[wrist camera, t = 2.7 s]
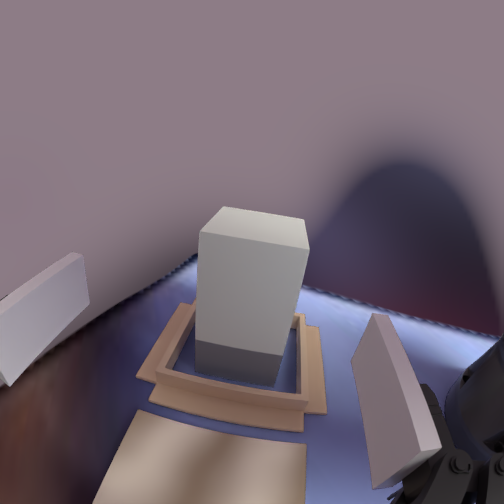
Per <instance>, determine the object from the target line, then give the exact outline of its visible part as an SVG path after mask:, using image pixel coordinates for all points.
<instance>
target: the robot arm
mask: <svg viewBox="0 0 504 504" xmlns="http://www.w3.org/2000/svg"><path fill="white" fill-rule="evenodd" d="M89 304H90V300H89V294H88V287H87V280H86V272H85V264H84V256H83V254H79V253H75V252H71V253H70V254H68V255H67V256H65V257H63V258H62V259H60V260H59V261H57V262H56V263H54V264H52V265H51V266H49V267H48V268H46V269H45V270H43V271H42V272H40V273H39V274H37V275H36V276H34V277H33V278H32V279H30V280H29V281H28V282H26V283H24V284H23V285H22V286H20V287H19V288H17V289H16V290H15V291H14V292H12V293H11V294H9V295H6V296H5V297H4V298H3V299H1V300H0V379H1V380H2V381H3V382H5V383H6V384H7V385H8V386H11V385H12V384H13V383H14V381H15V380H16V379H17V378H18V377H19V376H20V375H21V374H22V372H23V371H24V370H25V369H26V368H27V367H28V366H29V365H30V364H31V363H32V362H33V360H34V359H35V358H36V357H37V356H38V355H39V354H40V353H41V352H42V351H43V350H44V348H46V347H47V346H48V345H49V344H50V343H51V341H52V340H53V339H54V338H55V337H56V336H57V335H58V334H59V333H60V332H61V331H62V330H63V329H64V328H65V327H66V326H67V325H68V324H69V323H70V322H71V321H72V320H74V319H75V318H76V317H77V316H78V315H79V313H81V312H82V311H83V310H84V309H85V308H86V307H87V306H88V305H89ZM351 364H352V368H353V373H354V378H355V383H356V387H357V392H358V398H359V403H360V408H361V414H362V419H363V425H364V431H365V437H366V443H367V450H368V457H369V464H370V472H371V481H372V490H374V489H382V488H389V487H393V486H394V485H396V484H397V483H399V482H400V481H401V480H402V483H403V487H402V488H401V489H399V490H398V491H396V492H395V493H393V494H391V495H390V496H389V497H388V498H387V500H390V499H392V498H394V499H393V500H392V502H391V503H390V504H474V503H476V504H504V333H503V335H502V337H501V338H500V339H499V340H498V341H497V342H496V343H495V344H494V345H493V346H492V347H491V348H490V349H489V350H488V351H487V352H485V353H484V354H483V355H482V356H481V357H480V358H479V359H477V360H476V361H475V362H474V363H473V364H471V365H470V366H469V367H468V368H467V369H466V370H464V372H463V373H462V374H461V375H460V376H459V378H458V379H457V381H456V382H455V383H454V385H453V386H452V387H451V389H450V391H449V393H448V395H447V398H446V404H445V416H446V421H445V418H444V416H442V411H441V408H440V407H439V403H438V401H437V398H436V396H435V394H434V392H433V391H432V390H431V389H430V388H429V387H428V385H427V384H419V382H418V380H417V378H416V375H415V373H414V370H413V368H412V366H411V363H410V361H409V359H408V357H407V354H406V352H405V350H404V348H403V345H402V343H401V341H400V339H399V337H398V335H397V333H396V331H395V328H394V326H393V324H392V322H391V320H390V318H389V316H388V315H383V314H376V313H372V316H371V318H370V320H369V323H368V325H367V327H366V329H365V332H364V334H363V336H362V338H361V341H360V343H359V345H358V347H357V349H356V351H355V353H354V355H353V357H352V360H351ZM446 423H447V424H446ZM453 442H454V443H453ZM454 444H455V446H456V448H457V449H456V448H455V446H454Z"/></svg>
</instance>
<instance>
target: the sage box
mask: <svg viewBox="0 0 504 504" xmlns="http://www.w3.org/2000/svg"><path fill="white" fill-rule="evenodd" d="M309 250H310V249H309V243H308V238H307V233H306V228H305V223H304V220H303V219H297V218H292V217H286V216H280V215H275V214H269V213H262V212H256V211H250V210H243V209H237V208H229V207H223V208H222V209H221V210H220V211H219V212H218V213H217V214H216V215H215V216H214V217H213V218H212V219H211V220H210V221H209V222H208V223H207V224H206V225H205V226H204V227H203V228H202V229H201V231H200V235H199V250H198V267H197V289H196V321H195V372H198V373H202V374H206V375H211V376H215V377H220V378H225V379H230V380H235V381H240V382H246V383H251V384H257V385H263V386H270V387H274V384H275V381H276V378H277V374H278V371H279V367H280V364H281V361H282V357H283V353H284V350H285V346H286V343H287V339H288V335H289V332H290V328H291V324H292V320H293V317H294V313H295V309H296V305H297V301H298V297H299V293H300V289H301V285H302V281H303V276H304V272H305V268H306V264H307V259H308V255H309Z"/></svg>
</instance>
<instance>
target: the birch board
mask: <svg viewBox="0 0 504 504" xmlns="http://www.w3.org/2000/svg"><path fill="white" fill-rule="evenodd" d="M306 453H307V444H303V443H290V442H280V441H271V440H263V439H256V438H250V437H244V436H238V435H232V434H227V433H222V432H217V431H213V430H208V429H204V428H200V427H196V426H192V425H188V424H184V423H181V422H177V421H174V420H170V419H167V418H164V417H160V416H157V415H154V414H151V413H148V412H145V411H142V410H139V409H138V411H137V413H136V415H135V417H134V419H133V421H132V423H131V425H130V426H129V428H128V430H127V432H126V434H125V436H124V438H123V441H122V443H121V445H120V447H119V449H118V451H117V453H116V455H115V457H114V459H113V461H112V463H111V465H110V467H109V469H108V471H107V473H106V475H105V477H104V480H103V482H102V484H101V486H100V488H99V490H98V492H97V494H96V497H95V499H94V501H93V503H92V504H305V490H306Z"/></svg>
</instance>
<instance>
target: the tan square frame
mask: <svg viewBox="0 0 504 504" xmlns="http://www.w3.org/2000/svg"><path fill="white" fill-rule="evenodd" d="M195 321H196V298H195V300H194V302H193V303H192V305H191V304H186V303H182V302H181V303H180V304H179V306H178V307H177V309H176V311H175V312H174V314H173V315H172V317H171V319H170V320H169V322H168V323H167V325H166V327H165V328H164V330H163V331H162V333H161V335H160V336H159V338H158V340H157V341H156V343H155V344H154V346H153V348H152V349H151V351H150V353H149V354H148V356H147V358H146V359H145V361H144V363H143V364H142V366H141V368H140V369H139V371H138V373H137V374H136V378H139V379H142V380H145V381H148V382H151V383H154V384H156V385H155V387H154V389H153V391H152V393H151V395H150V397H149V399H148V400H149V402H152V403H155V404H158V405H161V406H165V407H168V408H171V409H175V410H178V411H182V412H186V413H189V414H193V415H197V416H201V417H206V418H210V419H214V420H219V421H224V422H229V423H234V424H240V425H246V426H252V427H258V428H265V429H273V430H281V431H291V432H302V433H303V431H304V413H307V414H320V415H326V414H327V404H326V392H325V381H324V370H323V360H322V351H321V342H320V333H319V327H315V326H308V325H306V323H305V314H301V313H294V317H293V320H292V324H291V328H292V329H296V394H293V393H285V392H277V391H270V390H263V389H257V388H251V387H245V386H240V385H235V384H229V383H225V382H220V381H215V380H210V379H206V378H202V377H198V376H193V375H189V374H185V373H182V372H178V371H174V370H172V369H173V367H174V365H175V362H176V360H177V358H178V356H179V354H180V352H181V350H182V348H183V346H184V344H185V342H186V340H187V338H188V336H189V334H190V332H191V330H192V328H193V326H194V324H195Z"/></svg>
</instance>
